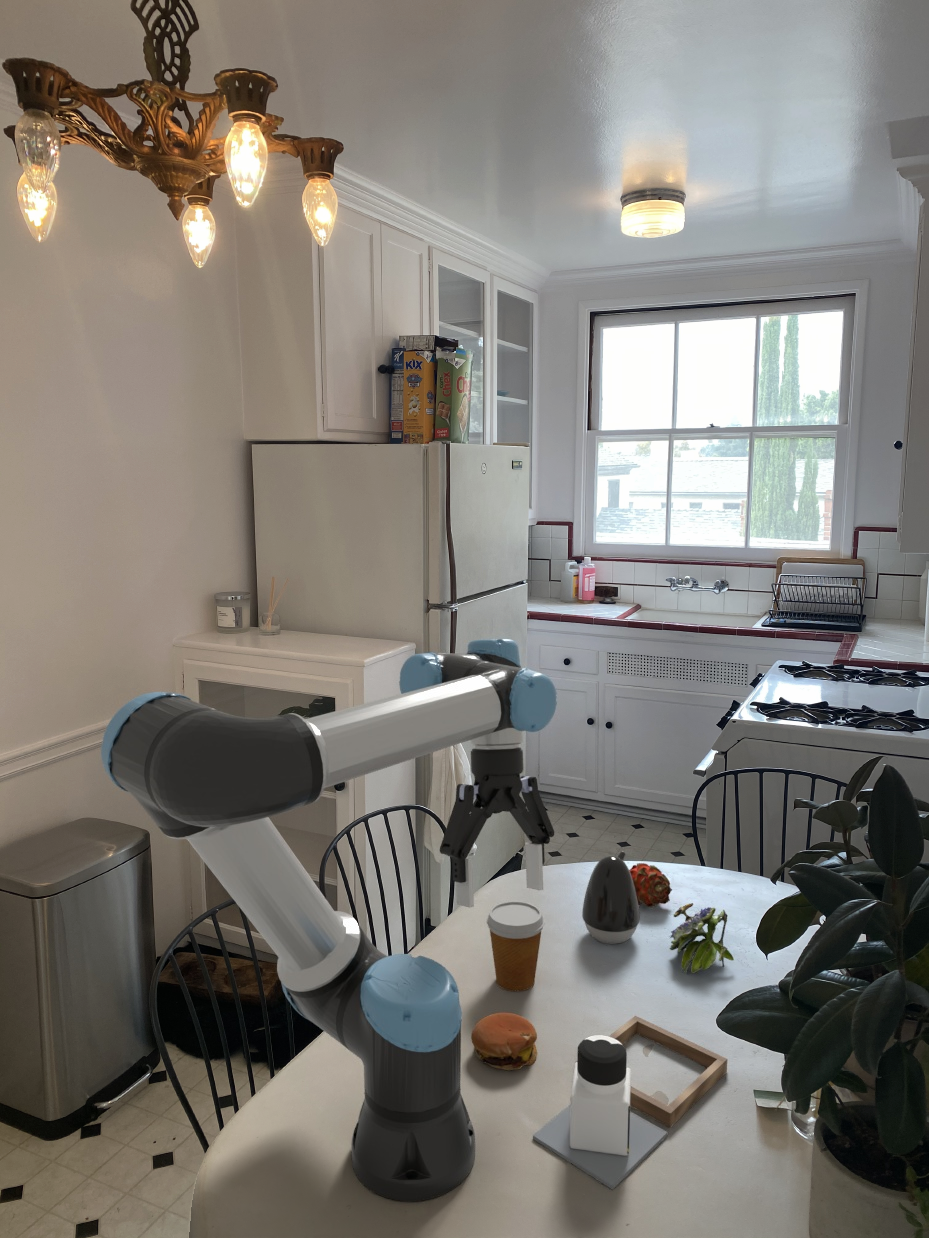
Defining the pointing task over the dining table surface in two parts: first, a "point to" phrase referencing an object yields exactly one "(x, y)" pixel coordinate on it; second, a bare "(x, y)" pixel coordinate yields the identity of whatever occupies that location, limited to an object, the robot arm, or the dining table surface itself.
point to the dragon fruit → (650, 885)
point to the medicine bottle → (600, 1097)
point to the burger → (505, 1041)
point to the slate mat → (596, 1163)
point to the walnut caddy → (683, 1047)
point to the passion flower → (706, 946)
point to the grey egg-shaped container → (611, 901)
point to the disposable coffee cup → (515, 943)
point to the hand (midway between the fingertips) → (501, 897)
